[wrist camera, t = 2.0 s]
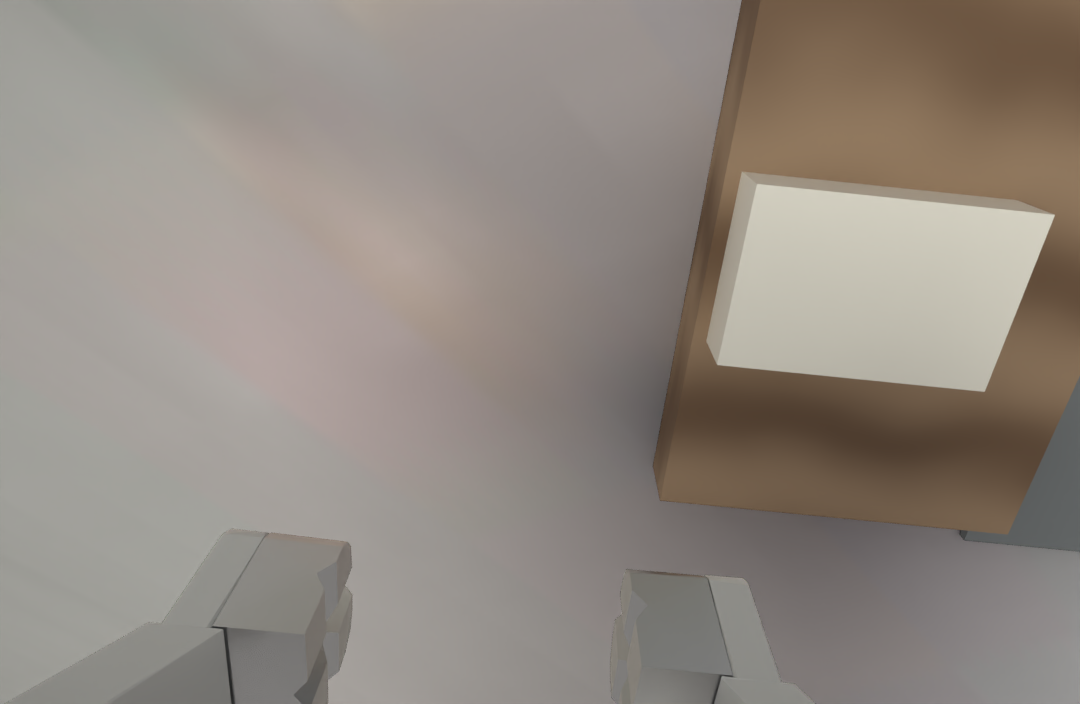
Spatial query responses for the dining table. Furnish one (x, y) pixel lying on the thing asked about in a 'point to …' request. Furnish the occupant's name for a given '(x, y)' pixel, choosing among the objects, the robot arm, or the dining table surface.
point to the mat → (1050, 493)
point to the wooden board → (902, 162)
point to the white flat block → (872, 281)
